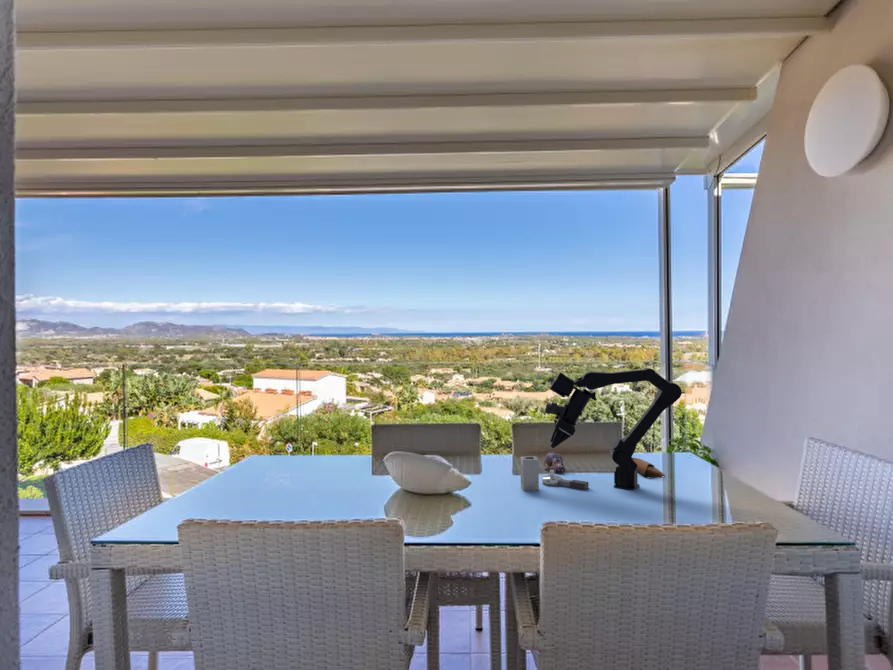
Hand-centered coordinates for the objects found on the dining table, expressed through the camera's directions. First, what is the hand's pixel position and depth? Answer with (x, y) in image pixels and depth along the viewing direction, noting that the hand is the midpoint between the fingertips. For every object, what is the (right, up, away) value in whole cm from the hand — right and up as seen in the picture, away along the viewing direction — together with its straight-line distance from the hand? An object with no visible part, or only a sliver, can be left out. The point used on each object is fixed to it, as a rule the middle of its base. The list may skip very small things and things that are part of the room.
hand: (551, 444), depth 201 cm
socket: (-8, -13, -5) cm, 16 cm away
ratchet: (+4, -13, -1) cm, 14 cm away
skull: (+5, -13, +20) cm, 25 cm away
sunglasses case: (+37, -13, +17) cm, 43 cm away
